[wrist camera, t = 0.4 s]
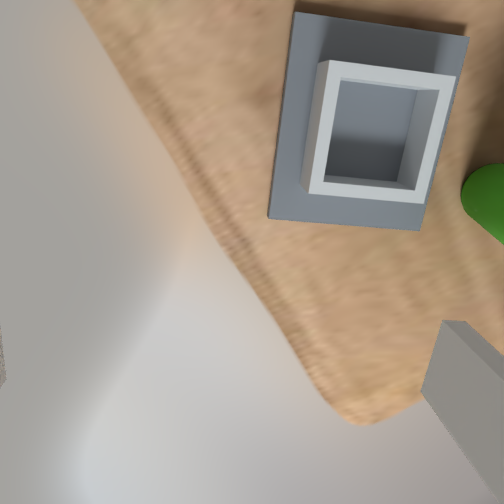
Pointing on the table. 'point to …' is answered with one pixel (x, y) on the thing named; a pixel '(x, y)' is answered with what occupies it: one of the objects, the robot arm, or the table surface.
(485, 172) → the cup
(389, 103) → the socket
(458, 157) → the table surface
